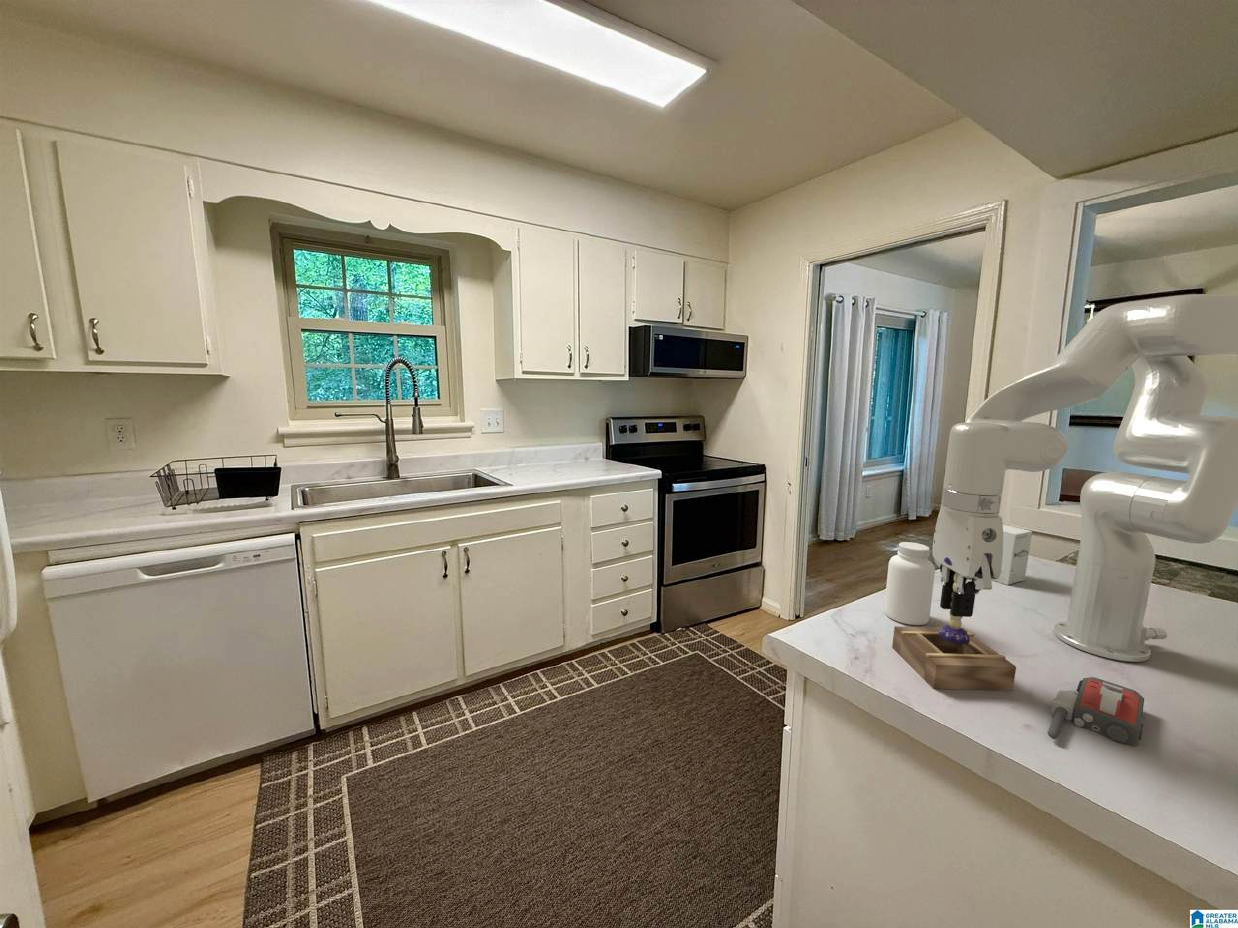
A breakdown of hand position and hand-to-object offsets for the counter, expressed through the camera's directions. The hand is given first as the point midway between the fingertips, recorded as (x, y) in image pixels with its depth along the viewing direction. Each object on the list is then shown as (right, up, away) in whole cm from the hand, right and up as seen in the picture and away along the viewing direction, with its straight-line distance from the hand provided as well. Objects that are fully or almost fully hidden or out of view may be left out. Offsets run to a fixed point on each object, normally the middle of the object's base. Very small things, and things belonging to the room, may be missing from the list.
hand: (955, 611), depth 79 cm
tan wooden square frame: (0, -10, +2) cm, 10 cm away
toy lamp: (0, -5, 0) cm, 5 cm away
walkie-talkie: (+12, -13, -11) cm, 21 cm away
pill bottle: (+3, -7, +19) cm, 21 cm away
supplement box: (+39, -4, +41) cm, 56 cm away
